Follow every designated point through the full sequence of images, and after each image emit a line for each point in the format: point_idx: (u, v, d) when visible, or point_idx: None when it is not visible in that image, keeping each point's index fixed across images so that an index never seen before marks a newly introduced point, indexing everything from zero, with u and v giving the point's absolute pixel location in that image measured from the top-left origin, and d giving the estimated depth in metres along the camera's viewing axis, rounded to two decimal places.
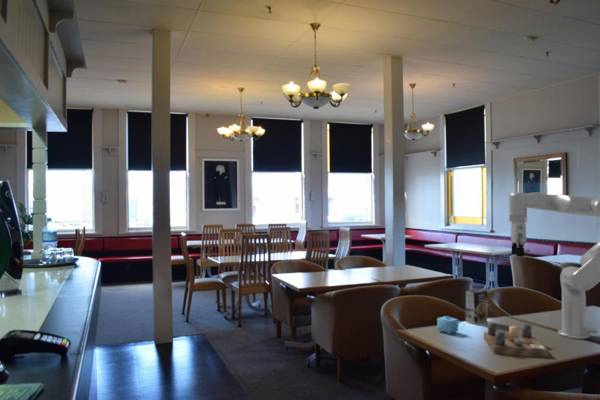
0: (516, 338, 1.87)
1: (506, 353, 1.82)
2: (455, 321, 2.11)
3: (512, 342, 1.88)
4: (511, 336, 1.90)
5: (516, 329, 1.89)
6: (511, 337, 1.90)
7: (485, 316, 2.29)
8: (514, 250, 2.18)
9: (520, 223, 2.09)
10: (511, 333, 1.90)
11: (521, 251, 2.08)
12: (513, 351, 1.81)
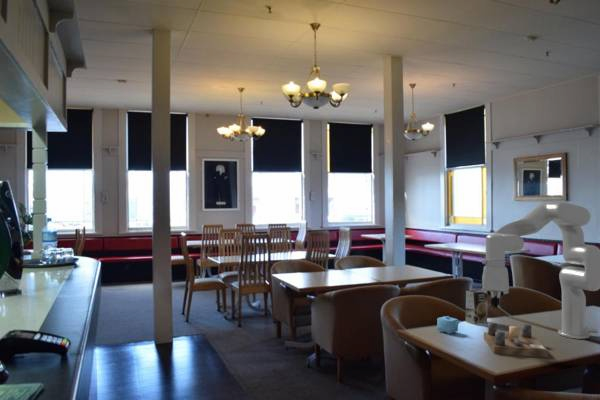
0: (516, 338, 1.87)
1: (506, 353, 1.82)
2: (455, 321, 2.11)
3: (512, 342, 1.88)
4: (511, 336, 1.90)
5: (516, 329, 1.89)
6: (511, 337, 1.90)
7: (485, 316, 2.29)
8: None
9: None
10: (511, 333, 1.90)
11: None
12: (513, 351, 1.81)
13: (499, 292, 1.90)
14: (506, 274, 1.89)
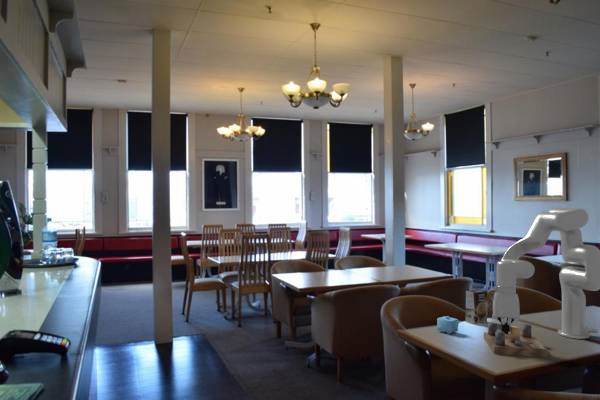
0: (517, 338, 1.87)
1: (506, 353, 1.82)
2: (455, 321, 2.11)
3: (512, 342, 1.88)
4: (512, 336, 1.90)
5: (517, 329, 1.89)
6: (512, 337, 1.90)
7: (485, 316, 2.29)
8: None
9: (494, 294, 1.92)
10: (512, 333, 1.90)
11: (502, 327, 1.91)
12: (513, 351, 1.81)
13: (510, 319, 1.90)
14: (517, 301, 1.88)
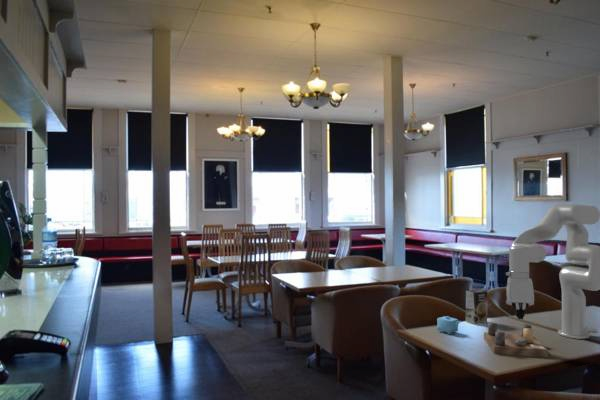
0: (524, 339, 1.86)
1: (506, 353, 1.82)
2: (455, 321, 2.11)
3: (512, 342, 1.88)
4: (523, 337, 1.88)
5: (527, 331, 1.86)
6: (523, 338, 1.88)
7: (485, 316, 2.29)
8: None
9: (508, 279, 1.91)
10: (523, 334, 1.88)
11: (516, 313, 1.90)
12: (513, 351, 1.81)
13: (524, 304, 1.89)
14: (531, 286, 1.87)
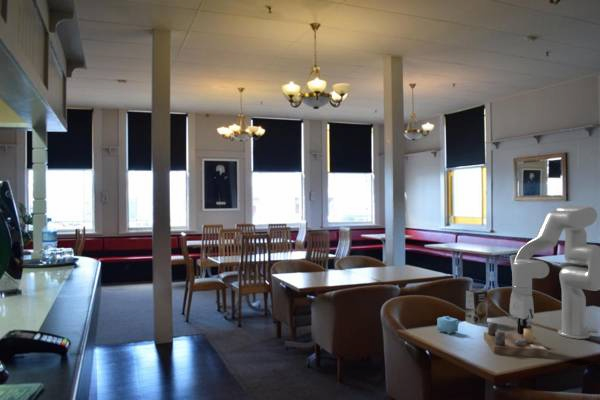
0: (524, 339, 1.86)
1: (506, 353, 1.82)
2: (455, 321, 2.11)
3: (512, 342, 1.88)
4: None
5: (527, 331, 1.86)
6: (524, 338, 1.88)
7: (485, 316, 2.29)
8: None
9: None
10: (524, 334, 1.88)
11: None
12: (513, 351, 1.81)
13: (521, 319, 1.90)
14: (523, 302, 1.87)
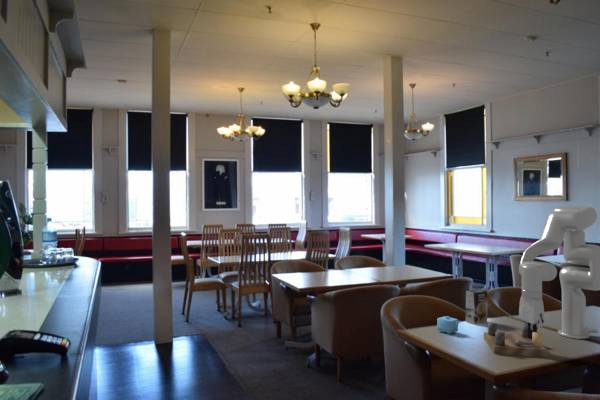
0: (528, 342, 1.83)
1: (506, 353, 1.82)
2: (455, 321, 2.11)
3: (512, 342, 1.88)
4: None
5: (533, 334, 1.82)
6: None
7: (485, 316, 2.29)
8: None
9: None
10: None
11: None
12: (513, 351, 1.81)
13: (531, 324, 1.84)
14: (533, 306, 1.82)
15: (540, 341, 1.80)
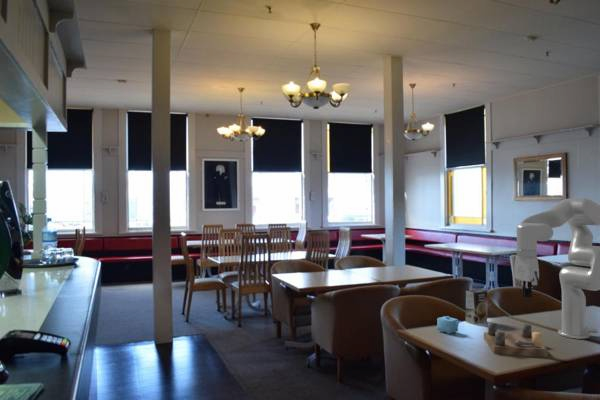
0: (528, 342, 1.83)
1: (506, 353, 1.82)
2: (455, 321, 2.11)
3: (512, 342, 1.88)
4: None
5: (533, 334, 1.82)
6: None
7: (485, 316, 2.29)
8: None
9: None
10: None
11: None
12: (513, 351, 1.81)
13: (526, 282, 1.89)
14: (528, 264, 1.86)
15: (540, 341, 1.80)
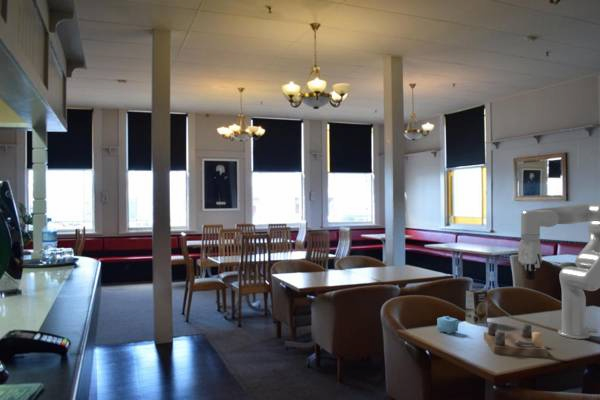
0: (528, 342, 1.83)
1: (506, 353, 1.82)
2: (455, 321, 2.11)
3: (512, 342, 1.88)
4: None
5: (533, 334, 1.82)
6: None
7: (485, 316, 2.29)
8: None
9: None
10: None
11: None
12: (513, 351, 1.81)
13: (529, 265, 2.00)
14: (531, 248, 1.97)
15: (540, 341, 1.80)
